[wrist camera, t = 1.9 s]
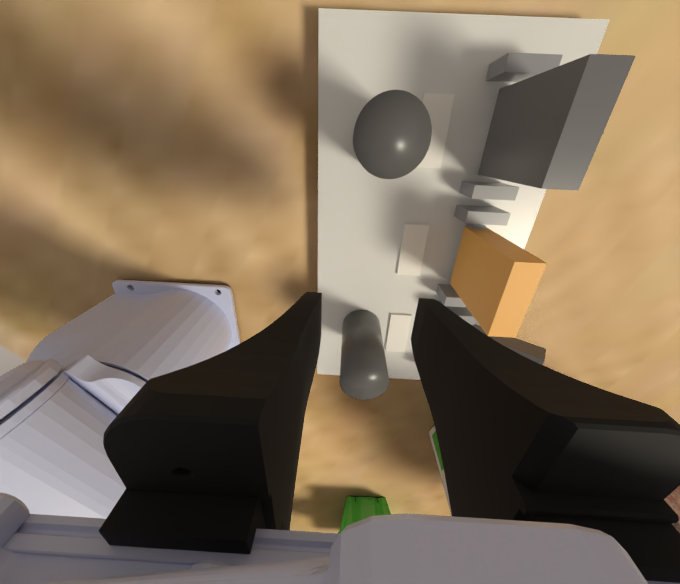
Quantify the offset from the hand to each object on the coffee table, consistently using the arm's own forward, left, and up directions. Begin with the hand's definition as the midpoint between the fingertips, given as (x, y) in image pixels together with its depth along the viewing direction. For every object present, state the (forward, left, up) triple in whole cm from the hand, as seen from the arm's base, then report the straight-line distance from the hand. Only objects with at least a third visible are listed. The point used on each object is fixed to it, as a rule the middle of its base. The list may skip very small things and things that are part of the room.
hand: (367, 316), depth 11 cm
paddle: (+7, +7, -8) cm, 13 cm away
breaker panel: (+4, 0, -10) cm, 11 cm away
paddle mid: (+7, 0, -8) cm, 11 cm away
